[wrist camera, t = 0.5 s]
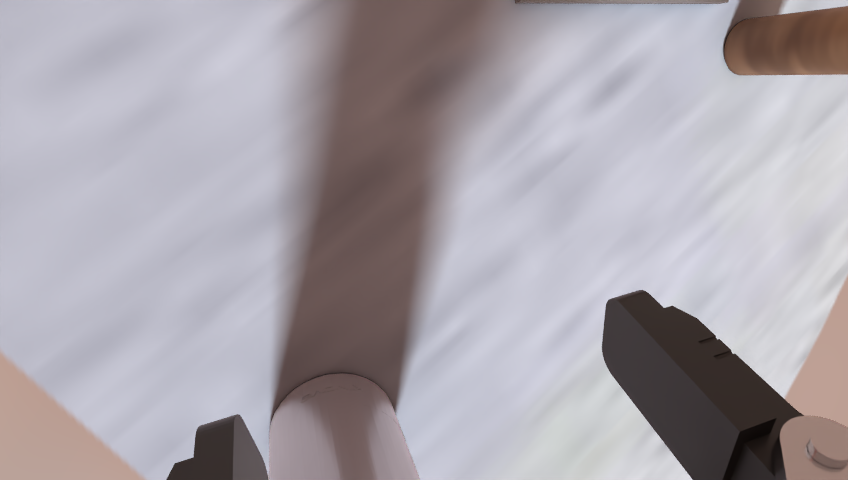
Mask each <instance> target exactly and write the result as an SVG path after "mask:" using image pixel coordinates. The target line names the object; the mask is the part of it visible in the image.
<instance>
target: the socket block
mask: <svg viewBox="0 0 848 480" xmlns="http://www.w3.org/2000/svg"><path fill="white" fill-rule="evenodd" d="M728 1H729V0H515V3H616V4H721V3H727V2H728Z"/></svg>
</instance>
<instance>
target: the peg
mask: <svg viewBox="0 0 848 480" xmlns="http://www.w3.org/2000/svg"><path fill="white" fill-rule="evenodd" d="M724 56H725V61H726V64H727V66H728V68H729V69H730V70H731V71H732V72H733V73H735V74H737V75H832V74H848V6H846V7H838V8H830V9H822V10H814V11H806V12H798V13H790V14H782V15H774V16H766V17H758V18H750V19H745V20H743V21H741V22H739V23H738V24H737V25H736V26H735V27H734V28H733V29H732V30H731V32H730V33H729V35H728V37H727V40H726V43H725V49H724Z"/></svg>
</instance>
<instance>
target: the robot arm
mask: <svg viewBox="0 0 848 480" xmlns="http://www.w3.org/2000/svg"><path fill="white" fill-rule="evenodd" d="M602 352H603V357H604V360H605V363H606V365H607V367H608V369H609V371H610V373H611V374H612V376H613V377H614V378H615V379H616V381H617V382H618V383H619V385H620V386H621V387H622V389H623V390H624V391H625V392H626V394H627V395H628V396H629V398H630V399H631V400H632V401H633V403H634V404H635V405H636V407H637V408H638V409H639V411H640V412H641V413H642V414H643V416H644V417H645V418H646V420H647V421H648V422H649V423H650V425H651V426H652V427H653V429H654V430H655V431H656V433H657V434H658V435H659V436H660V438H661V439H662V440H663V442H664V443H665V444H666V445H667V447H668V448H669V449H670V451H671V452H672V453H673V454H674V456H675V457H676V458H677V460H678V461H679V462H680V464H681V465H682V466H683V467H684V469H685V470H686V471H687V473H688V474H689V475H690V476H691V478H692V479H693V480H848V427H846V426H844V425H842V424H840V423H838V422H835V421H833V420H830V419H826V418H823V417H817V416H804V415H802V414H801V413H799V412H798V411H797V410H796V409H794V408H793V407H792V406H791V405H790V404H789V403H788V402H787V401H786V400H785V399H784V398H782V397H781V396H780V395H779V394H778V393H777V392H776V391H775V390H774V389H773V388H772V387H771V386H769V385H768V384H767V383H766V382H765V381H764V380H763V379H762V378H761V377H760V376H759V375H758V374H756V373H755V372H754V371H753V370H752V369H751V368H750V367H749V366H748V365H747V364H746V363H745V362H744V361H742V360H741V359H740V358H739V357H738V356H737V355H736V354H732V352H731V349H729V348H728V347H727V346H726V345H725V344H724V343H723V342H722V341H721V340H720V339H718V340H717V339H716V336H715V335H714V334H713V333H712V332H711V331H710V330H709V329H708V328H707V327H706V326H705V325H704V324H702V323H701V322H700V321H699V320H698V319H697V318H695V317H693V316H691V315H689V314H687V313H685V312H683V311H681V310H679V309H678V308H676V307H674V306H670V307H667V308H663V307H662V306H661V305H660V304H659V303H658V302H657V301H656V300H655V299H654V298H653V297H652V296H651V295H650V294H649V293H647V292H646V291H643V290H639V291H635V292H632V293H629V294H625V295H622V296H619V297H616V298H612V299H610V300H608V302H607V304H606V311H605V321H604V331H603V342H602ZM167 480H268V475H267V471H266V467H265V463H264V461H263V458H262V456H261V454H260V452H259V450H258V448H257V446H256V444H255V442H254V440H253V438H252V436H251V435H250V433H249V431H248V429H247V427H246V425H245V423H244V421H243V419H242V417H241V416H240V415H238V414H237V415H234V416H230V417H227V418H224V419H221V420H217V421H214V422H211V423H208V424H204V425H201V426H199V427H198V429H197V431H196V437H195V448H194V458H191V459H188V460H184V461H181V462H178V463H175V464H174V466H173V468H172V470H171V472H170V474H169V476H168V478H167ZM269 480H420V478H419V475H418V472H417V470H416V467H415V464H414V462H413V459H412V457H411V454H410V451H409V449H408V446H407V444H406V441H405V438H404V435H403V432H402V430H401V427H400V425H399V422H398V419H397V417H396V414H395V412H394V409H393V406H392V404H391V401H390V400H389V398H388V396H387V395H386V393H385V392H384V391H383V390H382V389H381V388H380V387H379V386H378V385H377V384H375V383H374V382H372V381H370V380H369V379H367V378H364V377H361V376H358V375H353V374H344V373H339V374H328V375H324V376H321V377H317V378H314V379H312V380H310V381H308V382H305V383H303V384H302V385H300V386H299V387H297V388H296V389H295V390H293V391H292V392H290V394H289V395H288V396H287V397H286V398H285V399H284V400H283V401H282V402H281V403H280V405H279V407H278V408H277V410H276V411H275V413H274V416H273V419H272V421H271V424H270V433H269Z"/></svg>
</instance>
